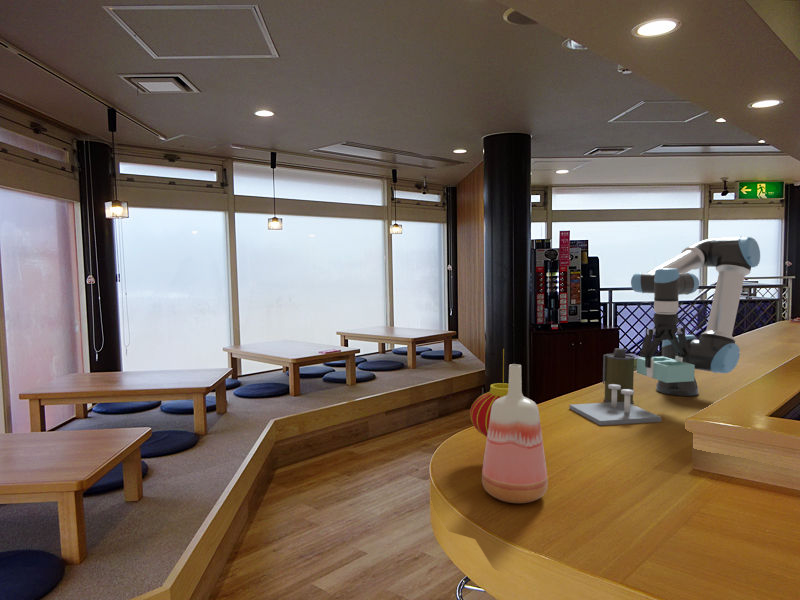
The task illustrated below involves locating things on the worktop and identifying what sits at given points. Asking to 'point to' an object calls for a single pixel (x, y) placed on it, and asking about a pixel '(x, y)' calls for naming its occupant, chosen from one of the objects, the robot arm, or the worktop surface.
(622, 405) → the board
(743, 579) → the worktop surface
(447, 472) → the worktop surface
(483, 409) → the lantern
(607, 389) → the canister
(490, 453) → the vase
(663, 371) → the teal breeze block
